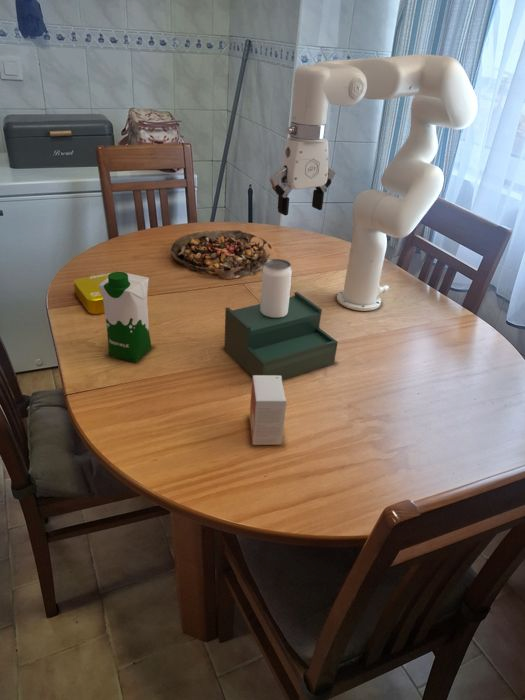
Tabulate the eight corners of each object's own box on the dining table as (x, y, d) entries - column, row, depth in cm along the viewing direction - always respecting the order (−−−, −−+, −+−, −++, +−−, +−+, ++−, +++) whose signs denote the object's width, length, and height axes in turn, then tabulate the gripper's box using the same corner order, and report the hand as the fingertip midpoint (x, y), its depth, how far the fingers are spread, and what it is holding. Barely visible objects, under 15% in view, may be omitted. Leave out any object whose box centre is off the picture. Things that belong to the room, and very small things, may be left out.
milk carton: (103, 356, 116) (92, 275, 105) (124, 338, 123) (117, 260, 112) (137, 365, 113) (130, 284, 103) (157, 346, 121) (152, 267, 110)
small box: (249, 417, 101) (252, 374, 95) (277, 417, 101) (281, 374, 96) (251, 445, 94) (255, 400, 88) (281, 445, 95) (286, 400, 89)
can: (285, 320, 114) (290, 271, 108) (257, 316, 115) (260, 267, 109) (289, 308, 120) (294, 260, 113) (263, 304, 121) (266, 256, 114)
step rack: (334, 363, 119) (341, 322, 113) (261, 386, 110) (265, 343, 104) (293, 330, 131) (297, 291, 125) (224, 348, 122) (225, 307, 116)
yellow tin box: (126, 282, 149) (124, 267, 146) (146, 304, 138) (145, 288, 136) (73, 293, 141) (71, 277, 139) (90, 316, 131) (88, 299, 128)
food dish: (271, 285, 156) (272, 261, 151) (162, 280, 155) (160, 256, 151) (271, 241, 184) (272, 220, 180) (179, 236, 184) (178, 215, 180)
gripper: (284, 137, 102) (278, 221, 111) (350, 133, 110) (339, 211, 119) (263, 130, 107) (259, 211, 116) (328, 126, 115) (319, 202, 125)
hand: (300, 211), depth 118 cm, fingers open, 9 cm apart
